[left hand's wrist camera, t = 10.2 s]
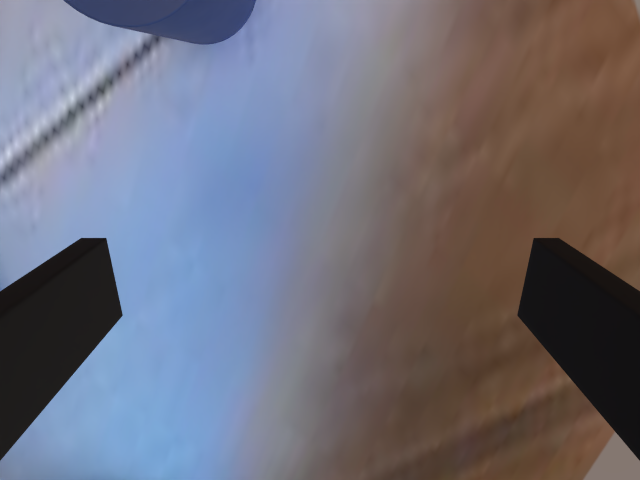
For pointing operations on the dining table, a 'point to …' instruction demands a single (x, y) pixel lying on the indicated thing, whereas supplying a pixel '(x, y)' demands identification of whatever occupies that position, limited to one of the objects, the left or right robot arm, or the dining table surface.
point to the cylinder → (172, 17)
